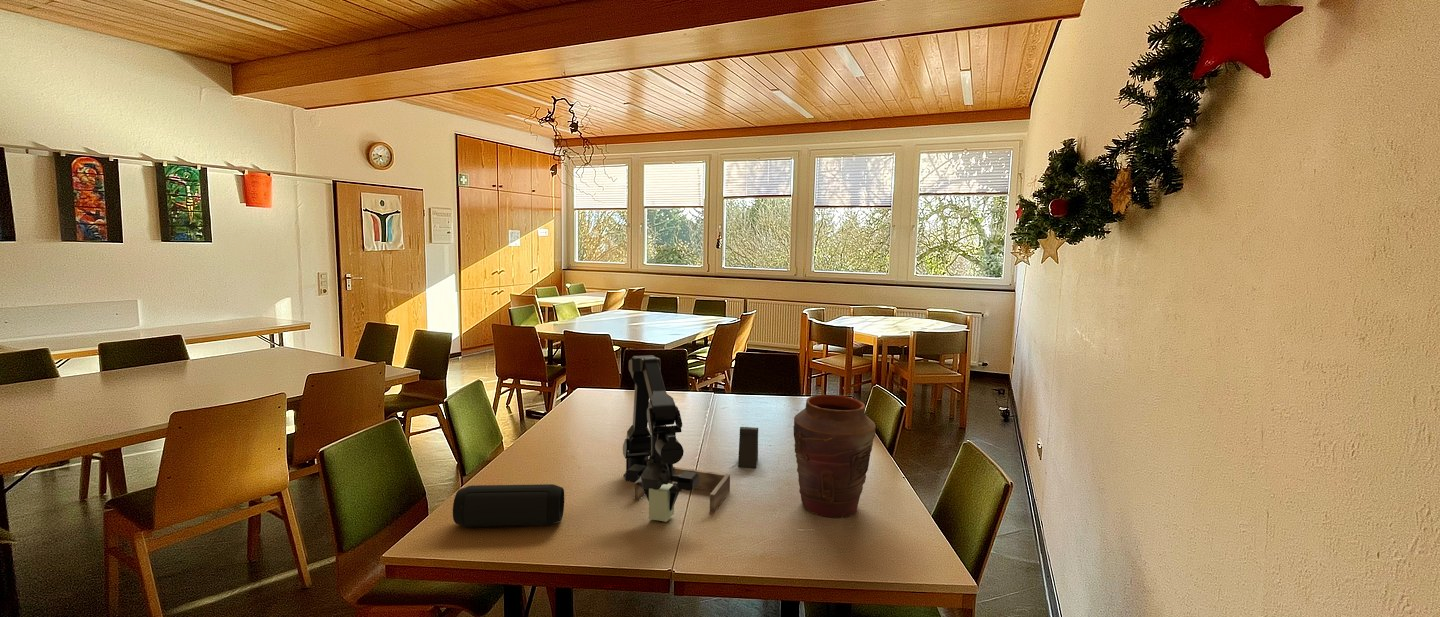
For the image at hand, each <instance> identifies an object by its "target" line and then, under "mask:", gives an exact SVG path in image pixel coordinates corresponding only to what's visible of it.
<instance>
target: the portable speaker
mask: <svg viewBox="0 0 1440 617" xmlns="http://www.w3.org/2000/svg"><path fill="white" fill-rule="evenodd" d="M564 511H565V490H564V487H562V486H559V485H557V484H553V483H552V484H548V483H546V484H544V483H543V484H492V485H491V484H490V485H489V484H483V485H467V486H465V487H462V488H459V489H458V490H457V492H455V495H454V500H453V505H452V519H453V522H454V524H457V525H460V526H463V527H466V528H469V527H470V528H473V527H474V528H476V527H477V528H480V527H481V528H485V527H489V528H490V527H525V526H527V527H529V526H534V527H535V526H552V525H554V524H557V523H559V522H561V521H562V520H563V516H564Z"/></svg>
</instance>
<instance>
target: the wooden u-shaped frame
mask: <svg viewBox="0 0 1440 617" xmlns="http://www.w3.org/2000/svg"><path fill="white" fill-rule="evenodd" d="M674 467H675V471H674V472H673V474H675V475H681V474H682V473H683V472H684V471H688V472H695V473H697V474H698V476H699V483H698V485H697V486H696V487H695V488H694V489H700V488H701V489H702V490H707V489H708V490H707V491H711V492H710V494H709V513H712V514H714V513H715V512H716V510H717V509H718V508H719V506H720V505H721V504H722V503H723V501H724V499H725V498H726V497H727V496H728V494H729V493H730V490H731V474H727V473H721V472H715V471H714V472H713V471H707V470H698V469H691V468H686V467H684V468H683V467H678V466H677V467H676V466H674ZM637 482H638V480H637V481H636V482H635V483H634V498H633V499H634V501H637V500H638V502H639V501H640V500H641V499H642V498H643V497H644V496H645V495H646V494H645V492H644V490H643V488H641V487H640V486H637V485H636V483H637ZM669 484H672V482H669ZM644 494H645V495H644ZM641 497H642V498H641ZM639 499H640V500H639Z"/></svg>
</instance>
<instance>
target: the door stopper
mask: <svg viewBox="0 0 1440 617" xmlns="http://www.w3.org/2000/svg"><path fill="white" fill-rule="evenodd" d="M738 439H739V440H738V442H739V443H738V459H737V460H738V461H737V467H738V468H750V469H752V468H753V469H757V467H758V466H757V465H758V460H759V427H748V426H740V427H739V438H738Z"/></svg>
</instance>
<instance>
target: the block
mask: <svg viewBox="0 0 1440 617" xmlns="http://www.w3.org/2000/svg"><path fill="white" fill-rule="evenodd" d="M672 486H673V484H669V483H668V484H667V485H666V484H663V485H661V488H660V489H658V490H654V489H651V488H649V502H648V519H649V520H654V521H659V522H660V521H661V522H668V521H669V520H670V519H671V517H672V516H673V515H675V506H674V507H673V509H672V510H671V511H670V508H669V504H670V491H669V489H670V488H671V487H672Z"/></svg>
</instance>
